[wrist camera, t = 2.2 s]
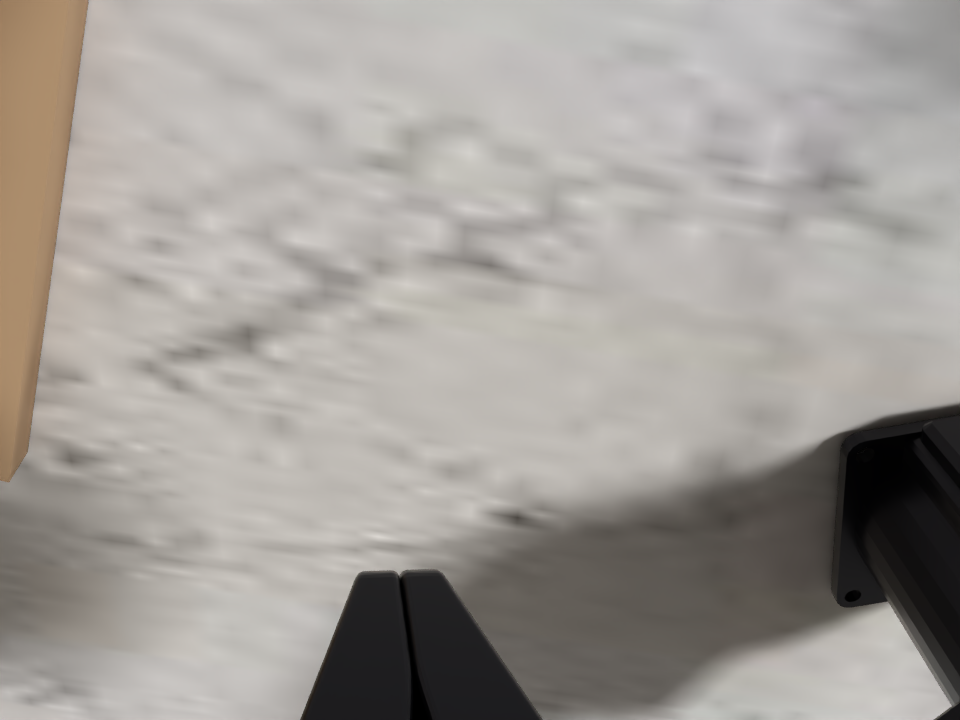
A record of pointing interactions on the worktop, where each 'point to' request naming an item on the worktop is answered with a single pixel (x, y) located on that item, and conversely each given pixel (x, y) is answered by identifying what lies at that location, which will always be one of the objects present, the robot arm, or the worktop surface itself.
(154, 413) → the worktop surface
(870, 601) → the robot arm
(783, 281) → the worktop surface
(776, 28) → the worktop surface
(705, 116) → the worktop surface
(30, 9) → the press base
